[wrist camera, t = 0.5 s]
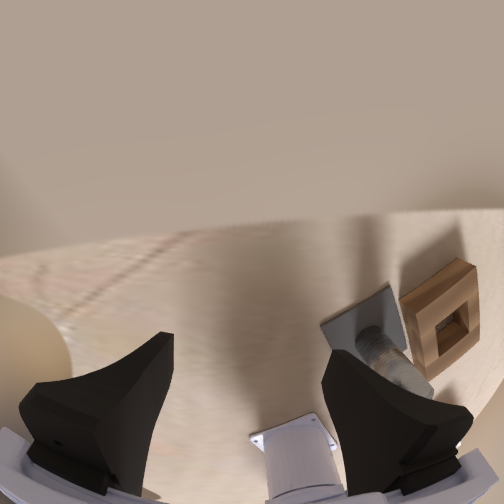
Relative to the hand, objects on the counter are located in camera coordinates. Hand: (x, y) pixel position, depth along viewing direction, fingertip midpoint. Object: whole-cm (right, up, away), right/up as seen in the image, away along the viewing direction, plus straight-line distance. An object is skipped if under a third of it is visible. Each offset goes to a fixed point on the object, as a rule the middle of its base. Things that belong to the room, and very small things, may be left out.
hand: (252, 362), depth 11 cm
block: (+19, -2, +11) cm, 22 cm away
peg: (+11, -3, +11) cm, 16 cm away
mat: (+11, -3, +11) cm, 16 cm away
